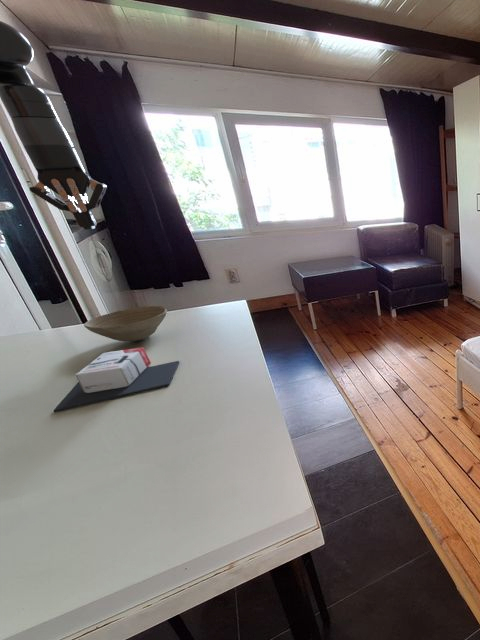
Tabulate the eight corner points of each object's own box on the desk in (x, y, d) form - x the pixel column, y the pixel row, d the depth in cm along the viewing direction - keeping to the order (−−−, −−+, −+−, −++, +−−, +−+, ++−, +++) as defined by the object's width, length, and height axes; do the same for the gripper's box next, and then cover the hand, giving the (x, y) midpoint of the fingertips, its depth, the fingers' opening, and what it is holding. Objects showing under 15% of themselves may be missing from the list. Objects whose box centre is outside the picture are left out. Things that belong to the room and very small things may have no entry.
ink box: (143, 346, 91) (120, 368, 81) (151, 363, 93) (130, 386, 83) (101, 352, 89) (72, 375, 79) (111, 369, 91) (84, 394, 81)
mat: (54, 412, 76) (52, 410, 76) (79, 384, 87) (78, 381, 86) (169, 385, 84) (168, 383, 84) (179, 362, 94) (178, 360, 94)
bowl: (178, 322, 120) (168, 300, 117) (173, 342, 106) (161, 317, 103) (105, 337, 112) (92, 313, 108) (90, 360, 98) (74, 333, 94)
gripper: (-6, 143, 72) (44, 234, 80) (81, 142, 77) (120, 227, 85) (15, 146, 78) (60, 230, 86) (94, 144, 83) (130, 224, 91)
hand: (90, 228), depth 85 cm, fingers closed
